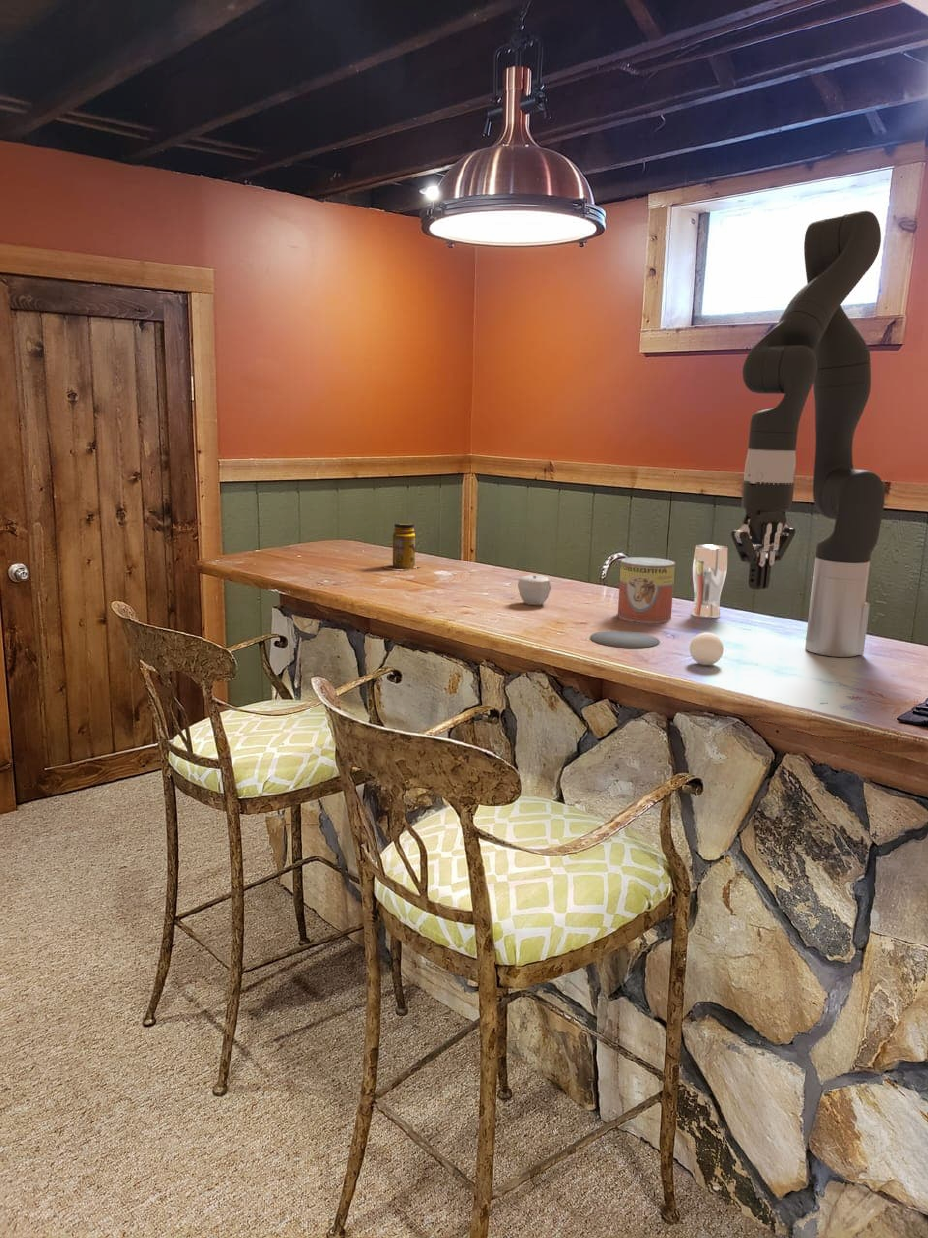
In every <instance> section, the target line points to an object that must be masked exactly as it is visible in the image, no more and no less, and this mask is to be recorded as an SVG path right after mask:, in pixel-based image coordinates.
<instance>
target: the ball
mask: <svg viewBox="0 0 928 1238" xmlns="http://www.w3.org/2000/svg"><path fill="white" fill-rule="evenodd" d="M724 649H725V648H724V644H723V642H722V640H721V638H720V637H719V636H717V635H716V634H714V633H712V632H701V633H699V634H697V635H696V636H694V638H692V641H690V644H689V653H690V656H691V658H692V659H693V661H694V662H696V663H697V664H699V665H703V666H711V665H714V664H716V663H718V662H719V661H720V659H722V656H723V654H724V651H725V650H724Z"/></svg>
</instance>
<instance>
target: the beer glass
mask: <svg viewBox="0 0 928 1238" xmlns="http://www.w3.org/2000/svg"><path fill="white" fill-rule="evenodd" d="M727 567H728V547H727V546H725V545H718V544H707V543H706V544H696V545H695V551H694V556H693V564H692V579H693V580H692V581H693V589H694V590H693V591H694V597H693V598H694V600H693V605H692V608H691V612H690V614H691V616H693V617H695V618H700V619H709V620H710V619H713V620H714V619H718V618H721V608H720V607H721V605H720V604H721V603H720V602H721V595H722V591H723V588H724V584H725V581H726V580H725V579H726V576H727V569H728V568H727Z"/></svg>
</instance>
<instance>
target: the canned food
mask: <svg viewBox="0 0 928 1238" xmlns="http://www.w3.org/2000/svg"><path fill="white" fill-rule="evenodd" d="M675 565H676V562H675V561H674V560H670V559H666V558H657V557H649V556H648V557H646V556H633V557H629V556H628V557H623V558H621V559H620V571H619V574H620V575H619V587H618V589H619V591H618V604H617V614H616V616H617V617H618V618H619V619H622V620H624V619H626V620H625V621H628V620H631V621H630V622H634V621H636V622H635V623H642V622H661V623H666V621H667V622H669V620H670V621H671V620H672V617H671V616H672V608H673V607H672V606H673V605H672V604H673V592H674V579H675V570H676V569H675V567H676V566H675Z"/></svg>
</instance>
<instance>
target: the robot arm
mask: <svg viewBox="0 0 928 1238" xmlns="http://www.w3.org/2000/svg"><path fill="white" fill-rule="evenodd" d="M880 225H881V224H880V223H879V220H878V218H877V216H876V214H874V212H871V211H870V210H862V209H861V210H855V211H851V212H845V213H841V214H836V215H833V216H827V217H823V218H820V219H815V220H813V221H812V222H811V223H810V224H809V225H808V226H807V229H806V231H805V234H804V235H805V236H804V243H803V247H804V249H803V250H804V251H803V253H804V266H805V274H806V275H805V276H806V282H807V283H806V284H805V285H804V286H803V287H802V288H801V289H800V290H799V291H797V293H796V294H795V295H794V296H793V297H792V298H791V300H790V301H789V303H788V304H787V306H786V308H785V310H784V312H783V313H782V315H781V316H780V319H779V321H778V322H777V324H776V325H775V326H774V327H773V328H771V329H770V331H768V332H767V333H766V334H765V335H764V336H763V337H761V339H760V340H758V342H757V343H755V345H754V346H753V347H752V348H751V350H750V351H749V352H748V354H747V355H746V357H745V361H744V363H743V367H742V380H743V383H744V385H745V387H746V388H747V389H748V390H749V391H750V392H752V393H755V394H763V395H765V394H766V395H767V394H771V395H772V394H773V395H774V394H776V395H777V394H784V395H783V398H782V399H781V401H780V403H779V404H778V405H776V406H775V407H773V408H766V409H762V410H758V411H756V412H755V413H753V414H752V415H751V421H750V425H749V426H750V427H749V428H750V429H749V438H748V449H747V455H746V459H745V466H744V475H743V485H742V496H741V507H742V508H743V509H744V510H745V515H744V518H743V519H742V520H743V521H742V526H741V527H739V529H738V530H736V529H733V530H732V531H731V532H730V533H731V534H730V537H731V538H732V541H733V544H734V546H735V550H737V554H738V556H739V559H740V561H741V562H746V563H747V565H749V575H748V585H749V588H750V589H753V590H757V591H759V590H765V589H768V588H769V585H770V580H771V573H772V566H774V563H775V562H780V561H782V559H783V557H784V555H785V553H786V551H787V549H788V548H789V545H790V544H791V542H792V540H793V538H794V537H795V534H796V529H795V528H793V527H789V526H788V524H787V516H786V512H789V511H791V509H792V507H793V498H794V497H793V496H794V488H795V477H796V470H797V469H796V468H797V459H796V455H797V454H796V453H797V451H796V450H797V442H798V432H799V425H800V421H801V417H802V414H803V411H804V407H805V404H806V402H807V399H808V397H809V394H810V392H811V389H812V387H813V397H814V398H813V399H814V428H815V429H814V430H815V431H814V432H815V436H814V437H815V445H814V447H815V450H814V461H813V462H814V464H813V478H812V497H813V503H814V506H815V508H816V510H817V511H818V513H819V514H820V515H822V516H823V517H825V518H828V519H833V520H835V524H834V527H833V531H832V533H831V534H830V536H828V537H827V538H825V539H824V538H823V539H821V540H819V541H818V542H817V544H816V548H815V555H814V556H815V557H814V558H815V559H814V565H813V576H812V584H811V591H810V592H811V594H810V602H809V612H808V621H807V630H806V637H805V649H806V650H807V651H808V652H810V653H814V654H818V655H822V656H826V657H827V656H829V657H835V658H836V657H837V658H849V657H855V656H864V653H865V646H866V636H867V629H868V622H869V613H870V603H869V602H866V597H867V590H868V589H867V588H868V582H869V573H870V567H871V566H870V565H871V557H872V553H873V551H874V550H875V547H876V545H877V543H878V539H879V536H880V535H879V534H880V530H881V524H882V519H883V518H882V517H883V513H884V508H885V499H886V498H885V496H886V493H885V485H884V482H883V481H882V479H881V477H880V476H879V475H878V474H877V473H875V472H873V471H870V470H866V469H856V468H854V463H853V441H854V435H855V431H856V428H857V427H858V424H859V423H860V422H859V421H860V419H861V417H862V415H863V413H864V411H865V408H866V405H867V403H868V400H869V397H870V394H871V393H870V392H871V387H872V386H871V385H872V375H871V374H872V371H871V369H872V368H871V352H870V349H869V347H868V343H867V342H866V340H865V339H864V337H863V336H862V334H861V333H860V331H859V330H858V328H857V327H856V326H855V325H854V324H853V322H852V321H851V320H850V318H849V317H848V315H847V314H846V313H845V312H846V311H844V309H843V307H842V303H843V302H844V301H845V299H846V298H847V297H848V296H849V295H850V293H851V292H852V291H853V289H854V288H855V287H856V286H857V285H858V283H859V282H860V281H861V280H862V279H863V277H864V276H865V274H866V273H867V272H868V271H869V270H870V269H871V267H872V265H873V264H874V263H875V261H876V259H877V257H878V254H879V251H880V249H881V243H882V230H881V226H880Z"/></svg>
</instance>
